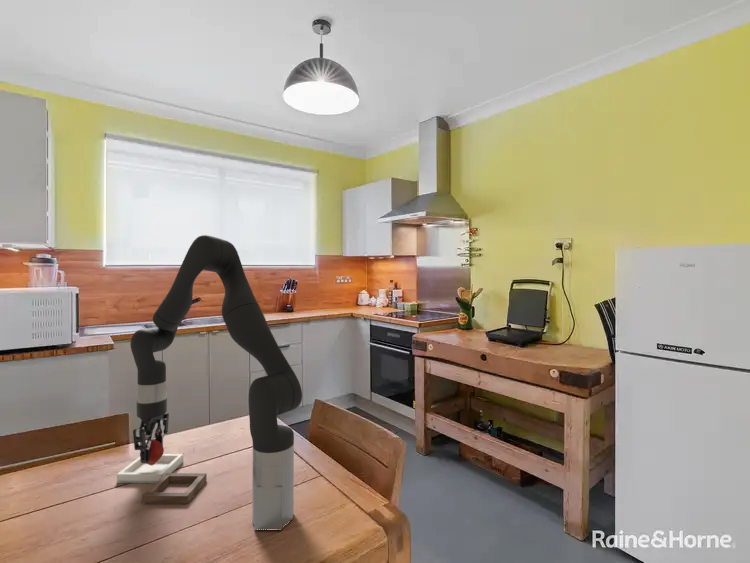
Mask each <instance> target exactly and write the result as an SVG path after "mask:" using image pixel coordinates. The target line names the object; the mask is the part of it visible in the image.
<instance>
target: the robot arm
mask: <svg viewBox="0 0 750 563" xmlns="http://www.w3.org/2000/svg"><path fill="white" fill-rule="evenodd" d="M203 271H208V272H214V273H216V274H217V275H218V276H219V279H220V281H221V283H222V285H223V287H224V288H223V289H224V296H223V300H222V305H221V315H222V319H223V322H224V324H225V326H226V329H227V331H228V334H229V336H230V337H231V339H232V340H233V341H234V342H235V343H236V345H238V346H239V347H241V348H242V349H243V350H244V351H245V352H247V353H248V354H250V355H251V356H252V357H253V358H255V360H257V361H258V362H259V364H260V365H261V366H262V368H263V370H264V371H265V374H266V375H264V376H261V377H258V378H255V379H254V380H252V382H251V384H250V387H249V389H248V398H247V399H248V414H249V416H248V417H249V419H248V420H249V430H250V436H251V441H252V488H251V489H252V492H251V493H252V495H251V496H252V504H251V506H252V507H251V508H252V513H251V514H252V525H253V524H254V525H253V531H255V530H257V529H258V530H259V529H260V530H261V529H262V530H263V529H264V530H265V529H266V530H267V529H282V528H283V529H284V527H283V526H284V525H285V524H287V523H288V522H289V521H290V520H291V519H292V518H293V519H294V516H293V515H294V510H295V509H294V507H295V506H294V505H295V504H294V501H295V500H294V499H295V498H294V497H295V496H294V494H295V493H294V491H295V490H294V488H295V486H294V485H295V483H294V482H295V479H294V478H295V475H294V474H295V471H294V470H295V469H294V468H295V463H294V462H295V433H294V431H293V429H292V428H291V427H289V426H286V425H283V424H278V416H280V415H282V414H285V413H288V412H291V411H293V410H295V409H298V408H299V406H300V405H301V403H302V399H303V390H302V387H301V384H300V381H299V379H298V377H297V375H296V373H295V372H294V370H293V368H292V366H291V365H290V363H289V361H288V360H287V358H286V356H285V355H284V353H283V351H282V350H281V348H280V346H279V345H278V343H277V341H276V339H275V336H274V335H273V332H272V331H271V329H270V326H269V324H268V321H267V320H266V318H265V315H264V313H263V310H262V309H261V306H260V305H259V303H258V301H257V299H256V296H255V295H254V293H253V290H252V287H251V286H250V283H249V282H248V279H247V276H246V274H245V270H244V268H243V264H242V261H241V258H240V256H239V253H238V251H237V249H236V247H235V245H234V244H233V243H232V242H230V241H228V240H225V239H222V238H219V237H215V236H213V235H209V234H208V235H207V234H203V235H202V234H201V235H199V236H198V237H196V238H195V239H194V240H193V242H192V243H191V245H190V246H189V248H188V250H187V251H186V254H185V257H184V259H183V260H182V263H181V265H180V267H179V270H178V271H177V274H176V276H175V278H174V281H173V283H172V285H171V287H170V289H169V291H168V293H167V294H166V295H165V297H164V298H163V300H162V302H161V303H160V304H159V306H158V308H157V309H156V310H155V312H154V313H153V316H152V322H153V324H154V325H155V326H154V327H148V328H141V329H138V330H136V331H135V332H134V333H133V334H132V336H131V338H130V350H131V354H132V357H133V360H134V363H135V366H136V369H137V385H136V386H137V388H136V417H137V418H138V419H140V425H139V427H138V428H134V429H133V430H132V437H133V446H134V450H135V451H140V452H139V457H140V456H141V457H140V460H141V463H148V462H149V461H150V449H149V448H150V444H151V441H152V440H153V439H155V440H157V441H159V442H160V443H161V444H162V446H163V447H164V438H165V435H166V434H168V431H169V419H170V413H169V412H167V411H168V387H167V366H166V365H167V364H166V362H165V361H164V360H160V359H155V355H154V353H158V352H161V351H165V350H166V349H168V348H169V347H170V346H171V344H172V343H173V342H174V340H175V337H176V334H177V331H178V328H179V325H180V324H181V323H182V321H183V320H184V319H185V317H186V315H187V314H188V312H189V311H190V309H191V307H192V305H193V299H194V298H193V288H194V282H195V281H196V279H197V278H198V277H199V275H200V274H201V273H202V272H203ZM146 442H147V444H146ZM293 519H292V520H293ZM283 529H282V530H283Z"/></svg>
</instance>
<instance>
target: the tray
mask: <svg viewBox="0 0 750 563" xmlns="http://www.w3.org/2000/svg"><path fill="white" fill-rule="evenodd" d="M183 463H184V454H183V453H182V454H180V453H178V454H177V453H175V454H174V453H163V455H162V457H161V458H160V459H159V460H158V461H157V462H156V463H155V464H154V465H152V466H151V465H149V464H147V463H141V460H140V456H139V457H137V458H136V459H134V460H133V461H132V462H131V463H129V464H128V465H126V467H124V468H123V469H121V470H120V471H119V472H118V473H116V483H117V484H155V483H156V482H157V481H158V480H160V479H161V478H162V477H163V476H164V475H165V474H166V473H173V472H174V473H175V471H176V470H177V468H179V467H180V466H181V465H182V464H183Z"/></svg>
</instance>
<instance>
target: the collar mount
mask: <svg viewBox="0 0 750 563" xmlns="http://www.w3.org/2000/svg"><path fill="white" fill-rule="evenodd" d="M207 474H208V473H202V472H201V473H198V472H197V473H194V472H189V473H186V472H182V473H181V472H180V473H179V472H176V473H175V472H174V473H166V474H165V475H164V476H163V477H162V478H161V479H160V480H158V481H157V482H156V483H153V485H152V486H151V487H150V488H149V489H147V491H145V493H143V494H142V496H141V497H142V498H141V499H142V500H141V503H142V505H188V504H189V503H190V501H191V500H192V499H193V496H196V494H197V493H198V492H199V490H200V489H201V488H202V487H203V486H202V485H205V483H206V482H207V481H206V480H207V476H208V475H207ZM186 483H192V484H190V485H189V486H188V487H187V488H186V490H185V491H184V492H162V491H163V490H164V489H165V488H166V487H167V486H168V485H169V484H186ZM201 486H202V487H201ZM200 487H201V488H200ZM197 491H198V492H197Z"/></svg>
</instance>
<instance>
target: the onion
mask: <svg viewBox="0 0 750 563" xmlns="http://www.w3.org/2000/svg"><path fill="white" fill-rule="evenodd" d="M155 439H156V438H154V439H153V440H152V441H151V444H150V448H149V449H150V461H149V462H148V463H147V464H149V465H151V466H152V465H154V464H155V463H156V462H157V461H158V460H159V459H160V458H161V457H162V455H163V454H164V452H165V450H164V449H165V448H164V445H163V446H162V444H161V443H160V442H159V441H157V440H155ZM146 444H147V441H146ZM139 457H141V456H140V455H139Z"/></svg>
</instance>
